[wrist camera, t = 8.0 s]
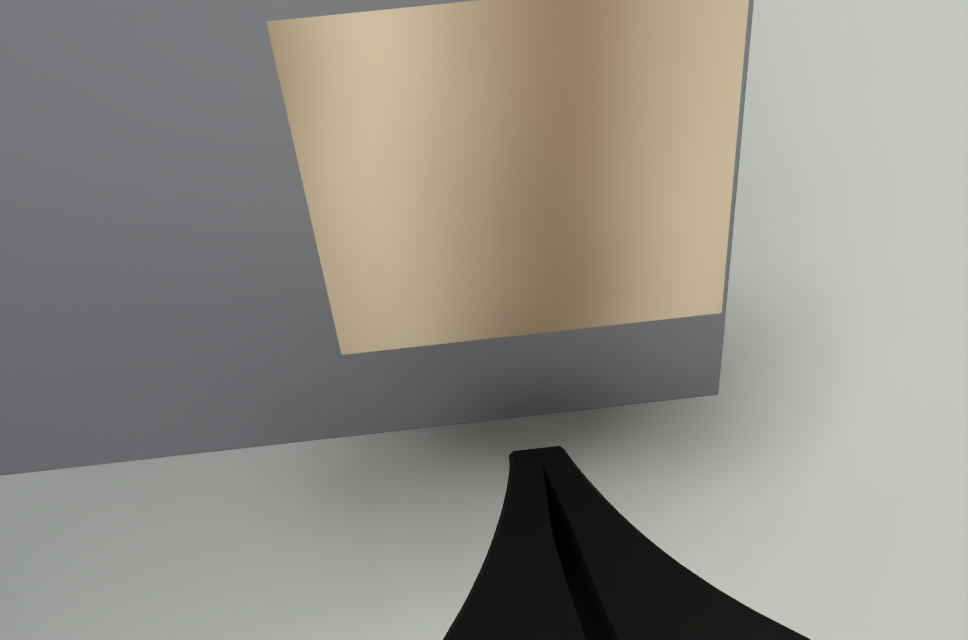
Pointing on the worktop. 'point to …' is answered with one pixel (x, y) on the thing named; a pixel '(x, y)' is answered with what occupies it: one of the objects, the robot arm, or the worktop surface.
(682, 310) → the outer tile
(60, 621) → the worktop surface
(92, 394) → the grey board
